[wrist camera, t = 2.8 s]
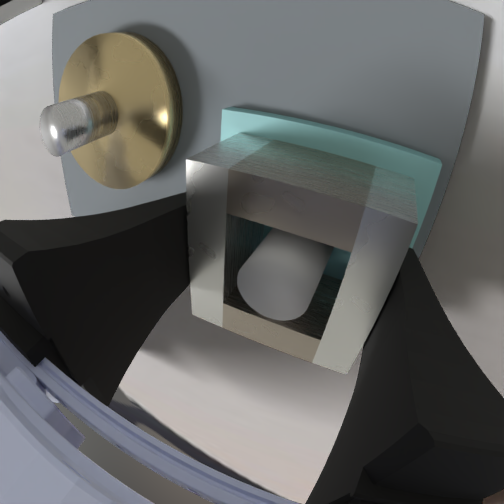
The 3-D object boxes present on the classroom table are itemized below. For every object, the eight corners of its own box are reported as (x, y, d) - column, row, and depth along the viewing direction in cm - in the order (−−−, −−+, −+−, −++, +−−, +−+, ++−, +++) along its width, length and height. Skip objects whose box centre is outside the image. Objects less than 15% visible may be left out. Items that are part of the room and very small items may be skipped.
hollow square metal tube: (363, 313, 12) (346, 375, 9) (231, 267, 13) (192, 314, 11) (414, 178, 8) (417, 224, 6) (239, 132, 10) (185, 159, 8)
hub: (183, 195, 13) (124, 237, 10) (81, 168, 15) (28, 196, 12) (186, 24, 9) (110, 23, 6) (72, 42, 11) (9, 54, 8)
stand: (375, 320, 12) (356, 401, 9) (222, 266, 14) (171, 326, 11) (439, 159, 8) (461, 214, 5) (230, 106, 10) (153, 133, 7)
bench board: (383, 325, 13) (382, 332, 12) (76, 212, 18) (71, 215, 18) (481, 16, 5) (484, 14, 5) (59, 13, 11) (53, 14, 10)
